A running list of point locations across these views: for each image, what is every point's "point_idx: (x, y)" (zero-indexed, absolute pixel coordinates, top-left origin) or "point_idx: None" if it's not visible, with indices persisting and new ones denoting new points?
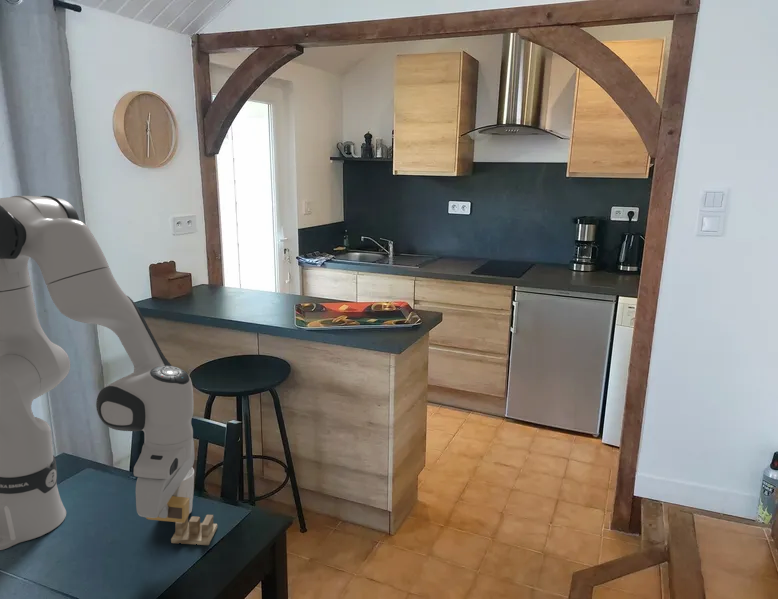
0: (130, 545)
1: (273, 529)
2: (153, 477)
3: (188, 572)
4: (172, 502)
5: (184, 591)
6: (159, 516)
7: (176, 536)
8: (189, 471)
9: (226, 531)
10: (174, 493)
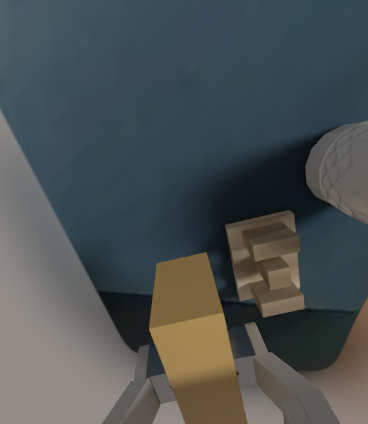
0: (190, 140)
1: (306, 366)
2: None
3: None
4: (194, 411)
5: (114, 319)
6: (141, 349)
7: (238, 234)
8: None
9: None
10: (263, 386)
